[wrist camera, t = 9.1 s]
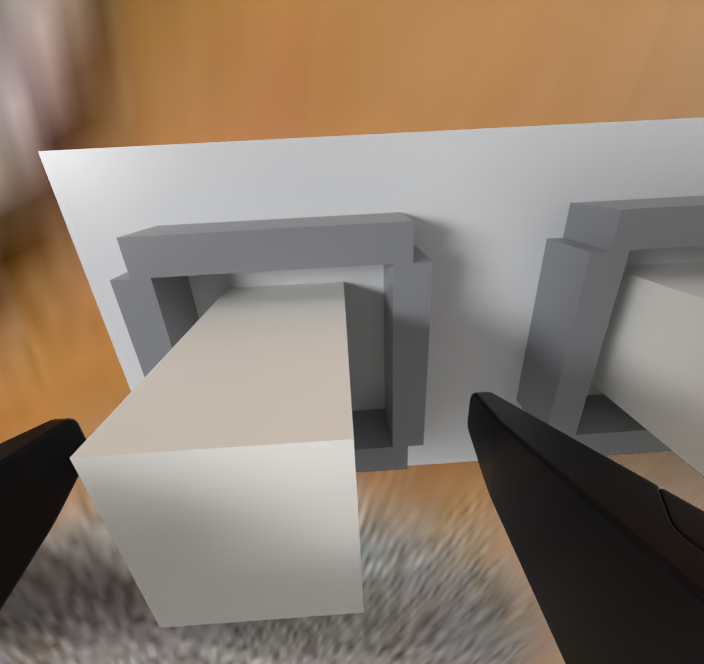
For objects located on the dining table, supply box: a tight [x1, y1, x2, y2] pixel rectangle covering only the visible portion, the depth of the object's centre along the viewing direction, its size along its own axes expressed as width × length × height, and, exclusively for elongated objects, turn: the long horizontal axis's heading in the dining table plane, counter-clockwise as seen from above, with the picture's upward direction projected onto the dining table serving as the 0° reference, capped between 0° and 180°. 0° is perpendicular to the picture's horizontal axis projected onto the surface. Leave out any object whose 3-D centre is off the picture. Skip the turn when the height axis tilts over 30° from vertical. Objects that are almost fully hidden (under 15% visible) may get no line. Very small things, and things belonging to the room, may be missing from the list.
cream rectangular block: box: [70, 282, 364, 628], centre depth 8 cm, size 4×4×7 cm
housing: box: [38, 117, 704, 476], centre depth 9 cm, size 12×24×8 cm, turn 93°
